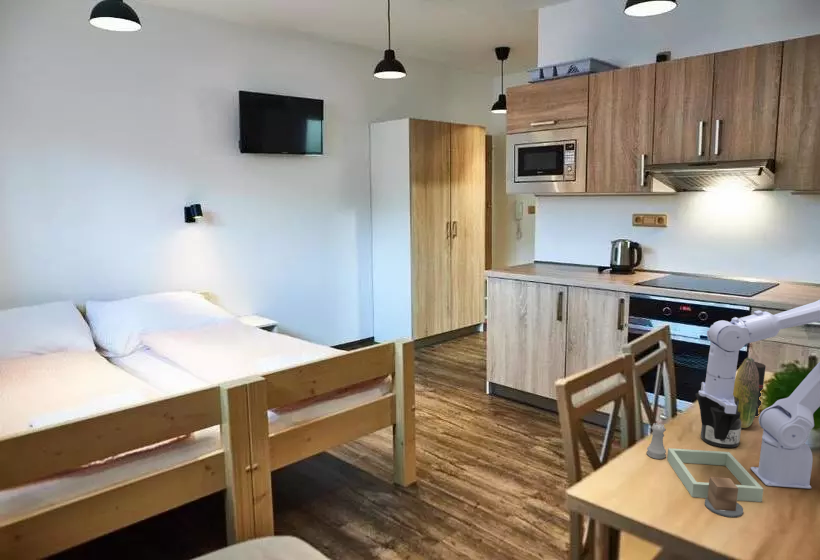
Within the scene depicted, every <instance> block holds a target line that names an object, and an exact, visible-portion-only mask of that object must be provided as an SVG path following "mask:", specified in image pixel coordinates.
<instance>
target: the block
mask: <svg viewBox="0 0 820 560" xmlns="http://www.w3.org/2000/svg"><path fill="white" fill-rule="evenodd" d="M708 483H709V488H708V498H707V499H708V501H709V502H710V503H711V505H712V506H713V508H714V509H716V510H729V511H736V503H738V502H737V501H738V500H737V494H738V487H737V486H736V485H737V484H736V483H734V481H733V480H732V479H731V478H730V477H729V478H728V477H716V476H715V477H714V476H709V479H708Z"/></svg>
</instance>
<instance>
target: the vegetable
mask: <svg viewBox="0 0 820 560" xmlns="http://www.w3.org/2000/svg"><path fill="white" fill-rule="evenodd" d="M742 362H743V363H742ZM742 362H741V364H740V365H739V368H738V369H737V371H736V376H735V384H734V391H733V396H735V397H737V398H738V399H739V406H738V412H739V413H740V417H739V418H740V420H741V429H746V428H749V427H751V425H752V424H753V422H754V420H755V418H756V417H755V413H756V407H757V401H758V395H759V372H758V369H757V367H756V364H755V362H756V361H755V359H753V358H752V357H749V356H748V357H746V358H744V360H743V361H742Z"/></svg>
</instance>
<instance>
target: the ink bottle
mask: <svg viewBox="0 0 820 560" xmlns="http://www.w3.org/2000/svg"><path fill="white" fill-rule="evenodd" d="M734 402H735V405H736V406H737V408H736V411H738V406H739V399H738V398H737V397H735V396H734ZM720 406H721V405H719V406H718V408H720ZM700 429H701V430H700V437H701V439H702V440H703V441H704V442H705V443H707V444H709V445H711V446H714V447H718V448H719V447H720V448H731V449H732V448H736V447H738V446H739V444H740V439H741V431H742V428H741V420H740V418H738V419H737V420H736V421H735V422H734V424H733V425H732V427H731V429H730V431H729V433H728V435H727V438H726V439H725V440H719V439H715V437H714V422H713V424H712V426H709V425H702V424H701V428H700Z"/></svg>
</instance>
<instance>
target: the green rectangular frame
mask: <svg viewBox="0 0 820 560" xmlns="http://www.w3.org/2000/svg"><path fill="white" fill-rule="evenodd" d="M666 457H667V458H666V460H667V461H668V463H669V465H670V467H672V469H673V471H674V472H675V474H676V476H677V477H678V479H680V481H681V482H682V484H683V486H684V487H685V488H686V490H687V492H688V493H689V495H690V497H692V498H701V499H706V498H707V497H708V488H709V482H703V481H697V480H696V478H695V477H694V476H693V475H692V474H691V472H690V471H689V469H688V468H687V466H686V465H685V464H696V465H712V466H725V467H726V468H727V470H729V472H730V473H731V474H732V475H733V476H734V477H735V478H736V480H737V481H738V482H739V483H740V484H735V485H736V486H737V487H738V494H737V501H744V502H756V503H762V502H763V496H764V495H763V494H764V488H763V487H762V485H760V483H759V482H757V481H758V480H756V479H755V478H754V477H753V476H752V475H751V474H750V473H749V472H748V471H747V469H746V468H745V467H744V466H743V465H742V464H741V463H740V462H739V461H738V459H736V458H735V456H733V454H732V453H731V452H730V451H718V450H717V451H716V450H703V449H702V450H701V449H685V448H684V449H683V448H669V447H668V448H667V455H666Z"/></svg>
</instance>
